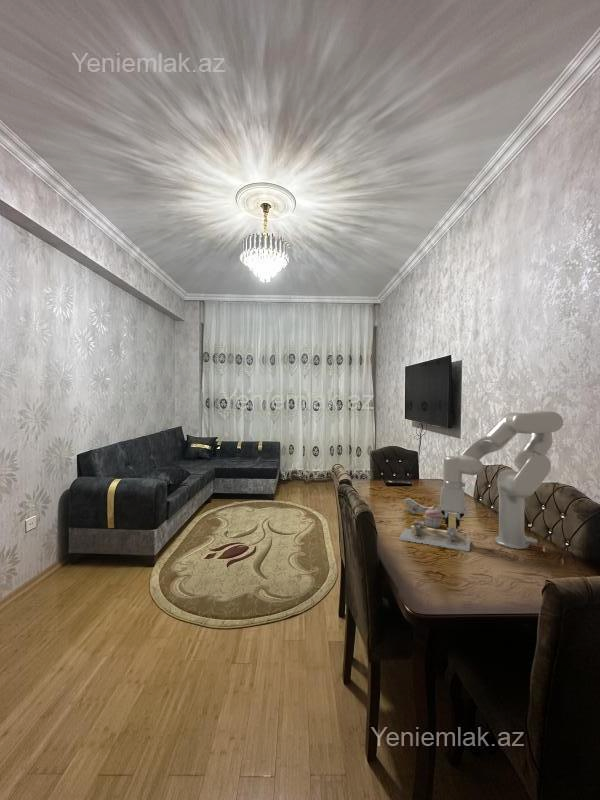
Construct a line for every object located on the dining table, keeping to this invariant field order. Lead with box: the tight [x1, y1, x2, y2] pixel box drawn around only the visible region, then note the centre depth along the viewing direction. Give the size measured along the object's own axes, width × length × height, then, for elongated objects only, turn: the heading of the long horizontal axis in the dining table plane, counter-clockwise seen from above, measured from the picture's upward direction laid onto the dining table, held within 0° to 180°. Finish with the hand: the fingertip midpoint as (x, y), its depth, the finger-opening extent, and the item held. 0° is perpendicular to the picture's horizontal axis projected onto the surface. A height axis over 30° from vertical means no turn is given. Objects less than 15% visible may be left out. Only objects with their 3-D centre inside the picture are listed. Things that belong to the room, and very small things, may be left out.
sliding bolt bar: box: [410, 520, 467, 541], centre depth 161 cm, size 23×6×5 cm, turn 63°
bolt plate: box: [399, 527, 471, 552], centre depth 160 cm, size 28×12×2 cm, turn 63°
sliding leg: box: [446, 514, 459, 540], centre depth 159 cm, size 4×6×9 cm, turn 153°
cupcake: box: [422, 505, 444, 529], centre depth 180 cm, size 9×9×10 cm
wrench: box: [402, 497, 462, 521], centre depth 195 cm, size 8×2×30 cm
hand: (452, 526), depth 160 cm, fingers closed on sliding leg, 3 cm apart
